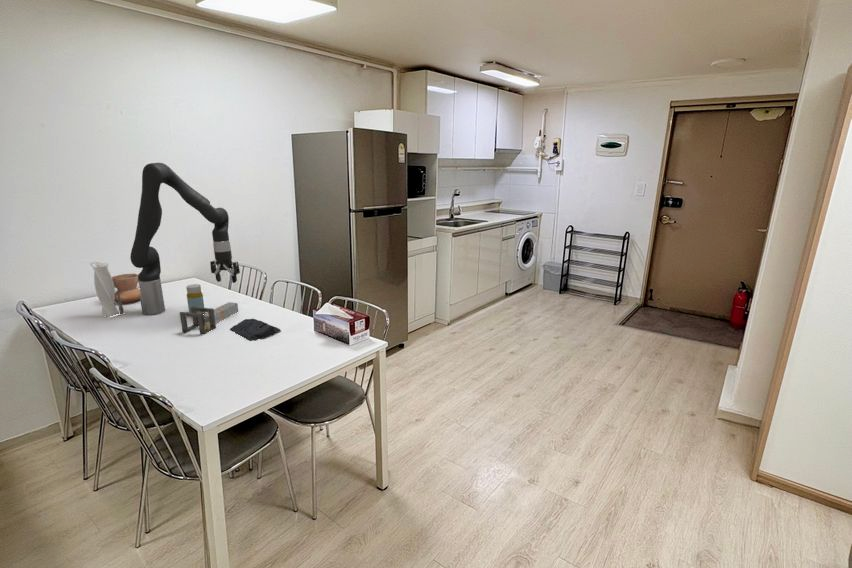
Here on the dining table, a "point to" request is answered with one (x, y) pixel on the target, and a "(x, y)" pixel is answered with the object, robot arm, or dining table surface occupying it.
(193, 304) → the bottle
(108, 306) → the skyscraper
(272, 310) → the dining table surface
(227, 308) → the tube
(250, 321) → the dark slate chunk
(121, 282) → the ceramic jug
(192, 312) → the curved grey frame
